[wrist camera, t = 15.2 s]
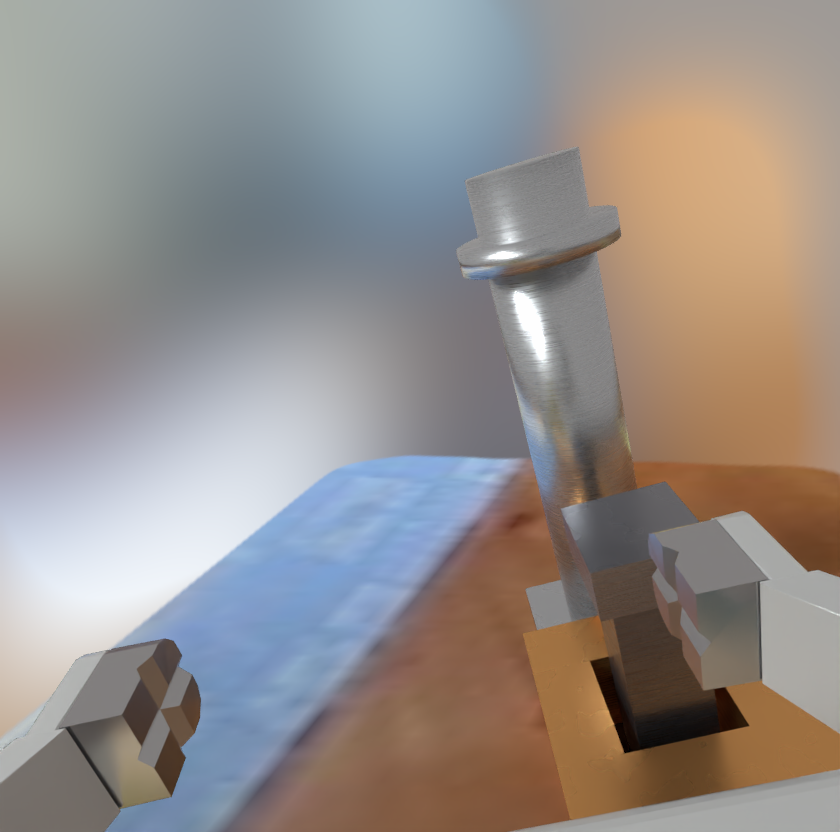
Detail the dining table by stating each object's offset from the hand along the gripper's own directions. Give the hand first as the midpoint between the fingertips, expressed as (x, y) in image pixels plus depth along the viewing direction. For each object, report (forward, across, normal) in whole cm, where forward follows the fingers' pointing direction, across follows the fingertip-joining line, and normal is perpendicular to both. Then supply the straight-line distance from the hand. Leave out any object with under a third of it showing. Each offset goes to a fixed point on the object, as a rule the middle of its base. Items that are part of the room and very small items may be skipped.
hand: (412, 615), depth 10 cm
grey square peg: (+9, -7, +18) cm, 22 cm away
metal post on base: (+13, -7, +18) cm, 23 cm away
